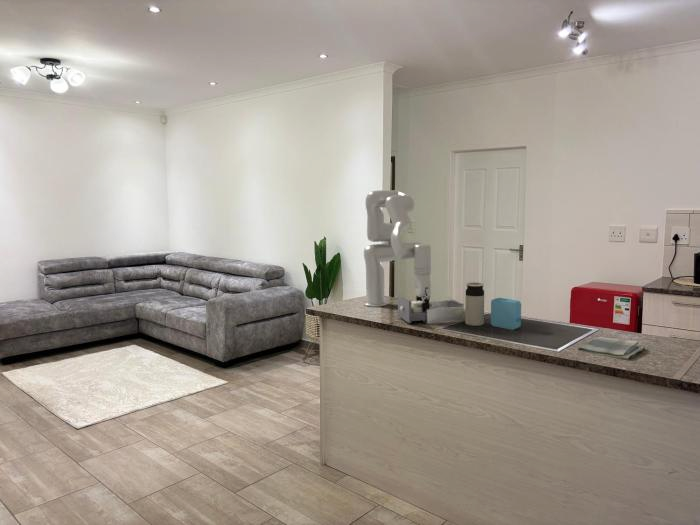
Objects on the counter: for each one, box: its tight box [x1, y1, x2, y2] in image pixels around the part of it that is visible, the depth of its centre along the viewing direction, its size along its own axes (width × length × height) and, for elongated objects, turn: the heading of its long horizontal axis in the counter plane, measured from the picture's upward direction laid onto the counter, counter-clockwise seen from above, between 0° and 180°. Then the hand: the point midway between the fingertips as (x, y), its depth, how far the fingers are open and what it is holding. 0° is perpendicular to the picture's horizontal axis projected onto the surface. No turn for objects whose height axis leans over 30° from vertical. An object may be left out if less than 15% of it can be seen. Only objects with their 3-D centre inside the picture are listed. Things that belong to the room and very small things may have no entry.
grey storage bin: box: [422, 296, 465, 325], centre depth 247 cm, size 16×18×8 cm
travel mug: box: [464, 281, 485, 327], centre depth 235 cm, size 8×8×18 cm
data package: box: [490, 297, 522, 331], centre depth 229 cm, size 12×4×12 cm, turn 43°
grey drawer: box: [397, 294, 437, 324], centre depth 244 cm, size 15×18×10 cm
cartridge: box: [411, 299, 435, 313], centre depth 245 cm, size 5×10×6 cm, turn 103°
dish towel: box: [577, 336, 646, 361], centre depth 195 cm, size 19×18×3 cm
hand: (422, 309), depth 245 cm, fingers open, 7 cm apart
